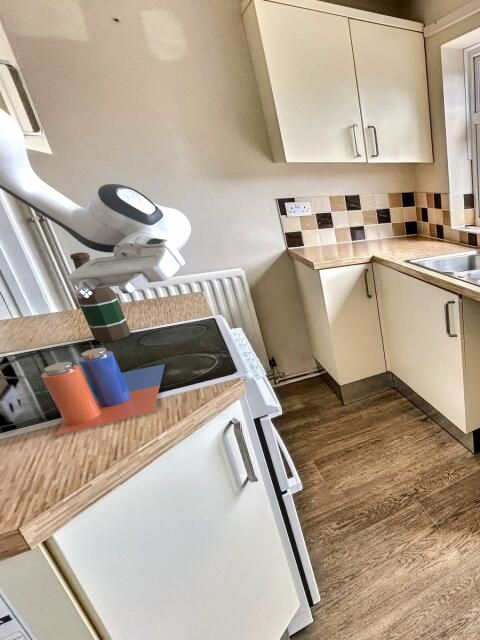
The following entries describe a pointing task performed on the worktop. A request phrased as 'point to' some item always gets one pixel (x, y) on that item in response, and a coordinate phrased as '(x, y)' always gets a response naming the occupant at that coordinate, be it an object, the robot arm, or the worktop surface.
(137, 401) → the sorting board
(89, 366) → the blue shaker
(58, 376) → the terracotta shaker
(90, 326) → the beer bottle
